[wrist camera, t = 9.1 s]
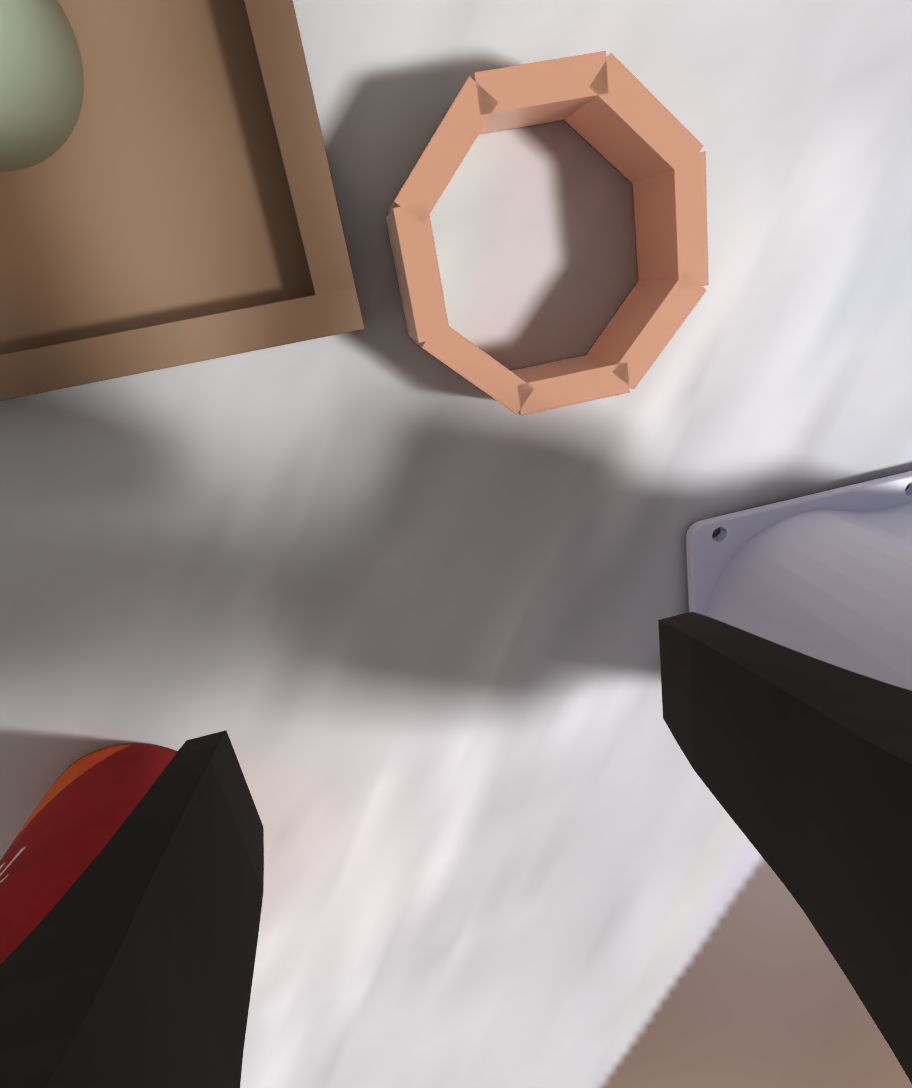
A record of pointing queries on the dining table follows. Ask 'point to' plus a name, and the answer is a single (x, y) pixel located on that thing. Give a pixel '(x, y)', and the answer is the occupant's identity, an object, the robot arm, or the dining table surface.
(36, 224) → the serving tray
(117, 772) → the paper cup
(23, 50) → the green pin
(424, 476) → the dining table surface
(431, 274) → the orange octagonal ring
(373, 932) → the dining table surface
